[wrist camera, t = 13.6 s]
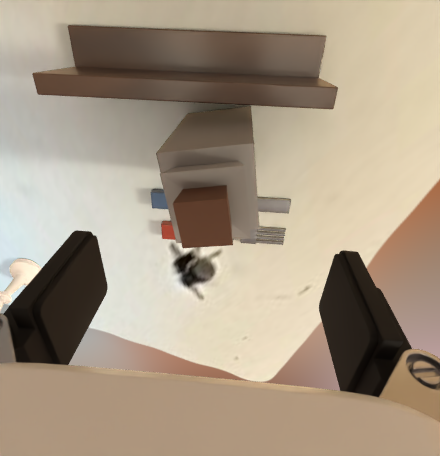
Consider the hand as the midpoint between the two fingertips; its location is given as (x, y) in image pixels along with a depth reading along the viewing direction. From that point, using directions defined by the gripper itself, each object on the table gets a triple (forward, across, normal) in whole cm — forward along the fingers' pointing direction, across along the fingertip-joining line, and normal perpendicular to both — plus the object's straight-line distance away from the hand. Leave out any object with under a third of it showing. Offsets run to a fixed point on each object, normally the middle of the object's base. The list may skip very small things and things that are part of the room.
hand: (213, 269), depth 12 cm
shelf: (+25, +4, -5) cm, 25 cm away
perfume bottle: (+24, +1, +2) cm, 25 cm away
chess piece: (+24, +30, +24) cm, 45 cm away
